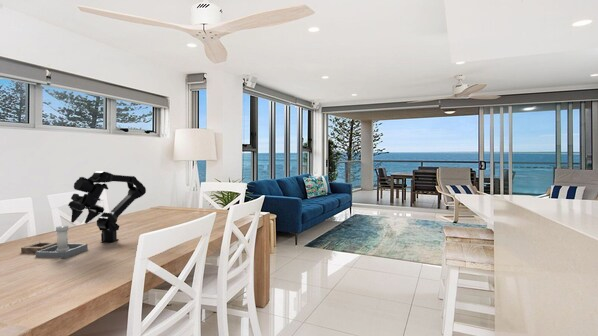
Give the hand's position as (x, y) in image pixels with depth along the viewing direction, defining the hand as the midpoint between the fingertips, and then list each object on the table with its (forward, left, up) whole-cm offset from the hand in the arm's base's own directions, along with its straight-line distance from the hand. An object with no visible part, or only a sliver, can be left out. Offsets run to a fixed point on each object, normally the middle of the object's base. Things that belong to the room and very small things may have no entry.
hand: (79, 222), depth 162 cm
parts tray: (-1, +11, -12) cm, 17 cm away
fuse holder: (+13, +8, -12) cm, 20 cm away
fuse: (-1, +11, -11) cm, 16 cm away
